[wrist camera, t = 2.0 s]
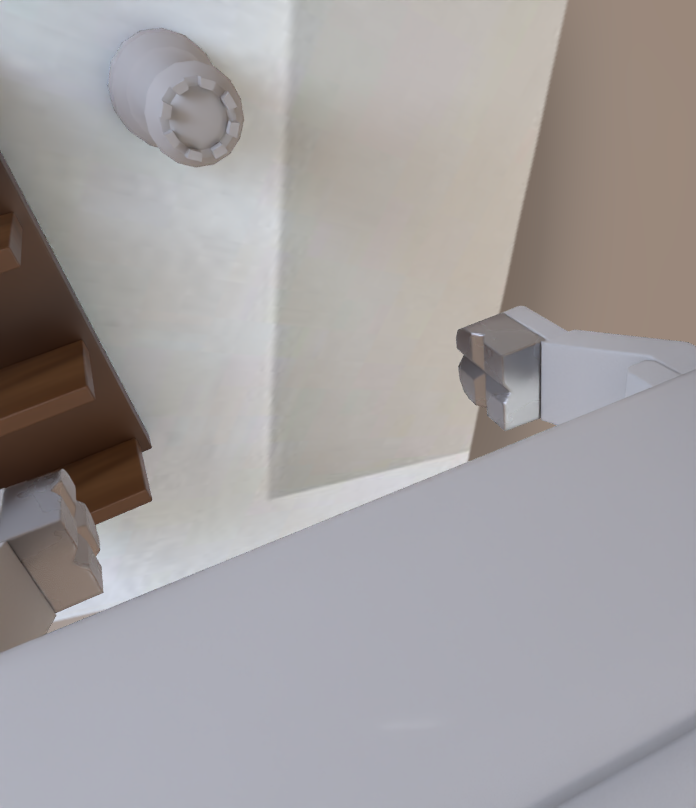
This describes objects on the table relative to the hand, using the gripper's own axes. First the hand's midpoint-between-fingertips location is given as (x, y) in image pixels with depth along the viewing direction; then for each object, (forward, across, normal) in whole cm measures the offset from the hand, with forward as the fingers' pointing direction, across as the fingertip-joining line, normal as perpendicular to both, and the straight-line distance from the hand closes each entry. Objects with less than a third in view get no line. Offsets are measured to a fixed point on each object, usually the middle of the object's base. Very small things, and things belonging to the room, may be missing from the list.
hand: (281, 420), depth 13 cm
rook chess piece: (+20, -2, -4) cm, 21 cm away
